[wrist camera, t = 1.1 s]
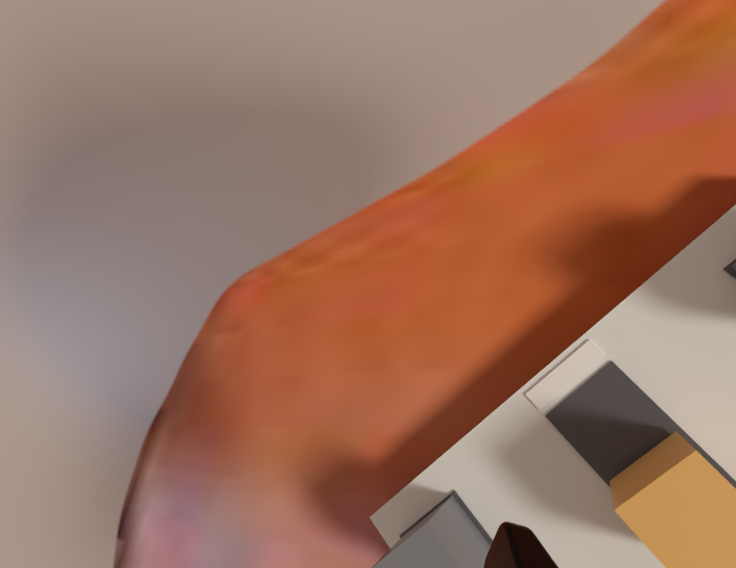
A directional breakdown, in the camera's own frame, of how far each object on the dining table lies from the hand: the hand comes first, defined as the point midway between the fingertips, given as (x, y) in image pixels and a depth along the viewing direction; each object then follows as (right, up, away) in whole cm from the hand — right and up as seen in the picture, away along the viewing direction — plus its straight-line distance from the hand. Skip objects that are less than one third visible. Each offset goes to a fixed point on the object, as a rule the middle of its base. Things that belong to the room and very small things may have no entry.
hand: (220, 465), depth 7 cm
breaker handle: (+13, -4, +9) cm, 17 cm away
